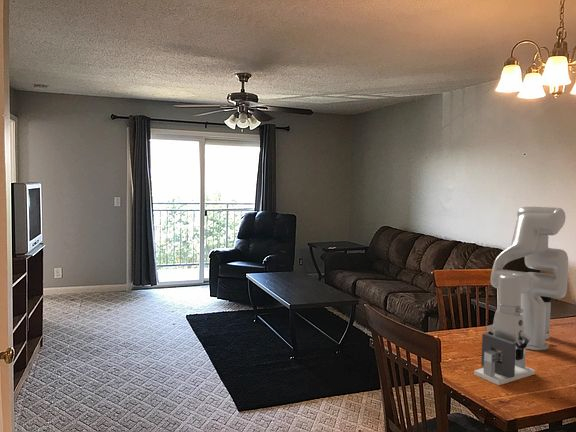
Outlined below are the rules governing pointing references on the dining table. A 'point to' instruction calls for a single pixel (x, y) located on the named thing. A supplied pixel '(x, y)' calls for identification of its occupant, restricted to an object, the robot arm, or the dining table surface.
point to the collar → (508, 353)
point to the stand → (499, 379)
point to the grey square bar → (495, 355)
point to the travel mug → (547, 313)
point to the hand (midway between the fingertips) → (506, 354)
